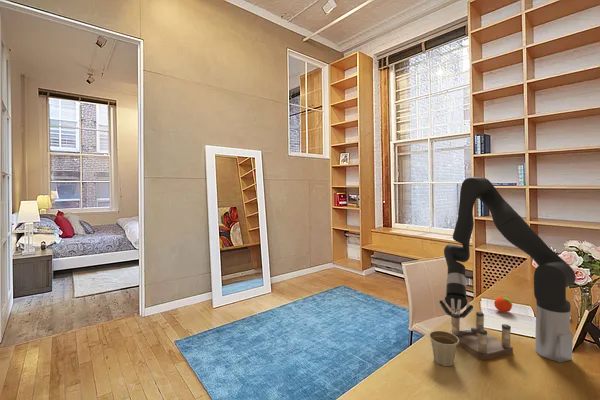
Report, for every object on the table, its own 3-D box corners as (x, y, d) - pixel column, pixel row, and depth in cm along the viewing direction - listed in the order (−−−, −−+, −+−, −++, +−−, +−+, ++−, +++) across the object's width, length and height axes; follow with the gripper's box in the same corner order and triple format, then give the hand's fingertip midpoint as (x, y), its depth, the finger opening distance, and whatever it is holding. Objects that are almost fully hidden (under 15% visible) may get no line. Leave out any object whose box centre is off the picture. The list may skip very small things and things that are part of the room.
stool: (512, 352, 108) (513, 327, 108) (482, 360, 104) (482, 333, 104) (478, 334, 122) (479, 311, 121) (450, 340, 118) (450, 316, 117)
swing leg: (473, 330, 120) (473, 311, 120) (478, 333, 118) (478, 314, 117) (450, 332, 119) (450, 313, 118) (454, 336, 116) (455, 317, 116)
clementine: (517, 314, 139) (518, 299, 138) (507, 316, 136) (507, 301, 136) (500, 307, 146) (501, 293, 146) (490, 310, 144) (490, 295, 143)
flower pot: (446, 373, 98) (446, 347, 97) (423, 358, 106) (423, 334, 106) (464, 364, 102) (465, 339, 102) (440, 350, 111) (440, 328, 110)
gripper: (438, 280, 129) (436, 319, 120) (474, 284, 123) (475, 326, 113) (439, 287, 134) (437, 326, 125) (473, 292, 128) (474, 333, 118)
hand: (455, 326), depth 119 cm, fingers closed
